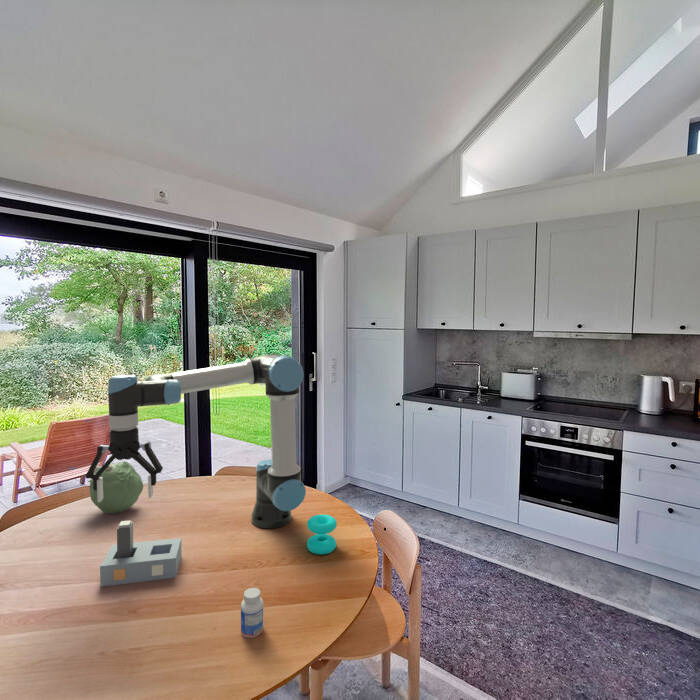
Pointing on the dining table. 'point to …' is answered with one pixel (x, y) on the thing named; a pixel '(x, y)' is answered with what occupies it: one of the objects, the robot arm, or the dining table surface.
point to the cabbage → (117, 488)
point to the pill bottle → (252, 613)
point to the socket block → (142, 563)
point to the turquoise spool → (321, 534)
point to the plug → (125, 539)
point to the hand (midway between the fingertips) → (125, 498)
